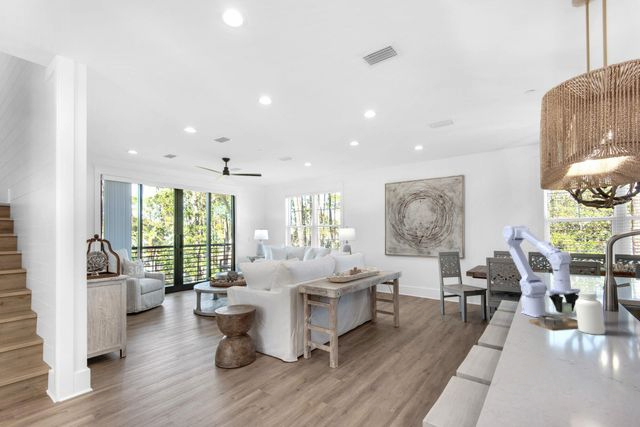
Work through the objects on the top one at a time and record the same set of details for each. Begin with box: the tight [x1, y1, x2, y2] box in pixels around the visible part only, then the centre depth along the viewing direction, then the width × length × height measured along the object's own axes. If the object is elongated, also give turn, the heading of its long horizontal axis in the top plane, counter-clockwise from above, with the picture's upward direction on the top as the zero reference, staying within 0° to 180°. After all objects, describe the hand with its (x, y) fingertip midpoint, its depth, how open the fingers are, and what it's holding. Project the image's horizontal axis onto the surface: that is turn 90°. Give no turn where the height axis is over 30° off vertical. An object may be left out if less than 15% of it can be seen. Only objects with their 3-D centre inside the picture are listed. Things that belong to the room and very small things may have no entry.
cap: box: [558, 301, 573, 315], centre depth 135 cm, size 5×5×4 cm
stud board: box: [528, 314, 578, 331], centre depth 132 cm, size 12×18×4 cm, turn 96°
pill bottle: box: [575, 291, 606, 335], centre depth 122 cm, size 8×8×15 cm
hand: (564, 311), depth 135 cm, fingers closed on cap, 5 cm apart
